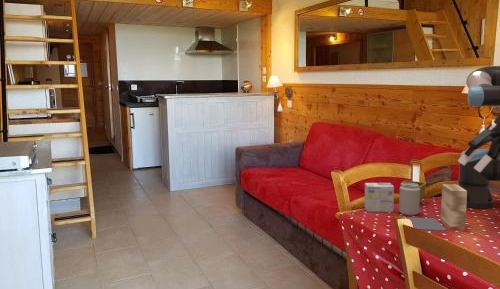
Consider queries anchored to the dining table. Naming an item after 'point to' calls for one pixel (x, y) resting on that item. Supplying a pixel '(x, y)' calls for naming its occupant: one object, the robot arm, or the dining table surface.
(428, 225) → the mat
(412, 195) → the can
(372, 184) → the light bulb box
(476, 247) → the dining table surface
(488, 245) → the dining table surface
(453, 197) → the birch block
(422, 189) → the flower pot
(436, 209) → the dining table surface
